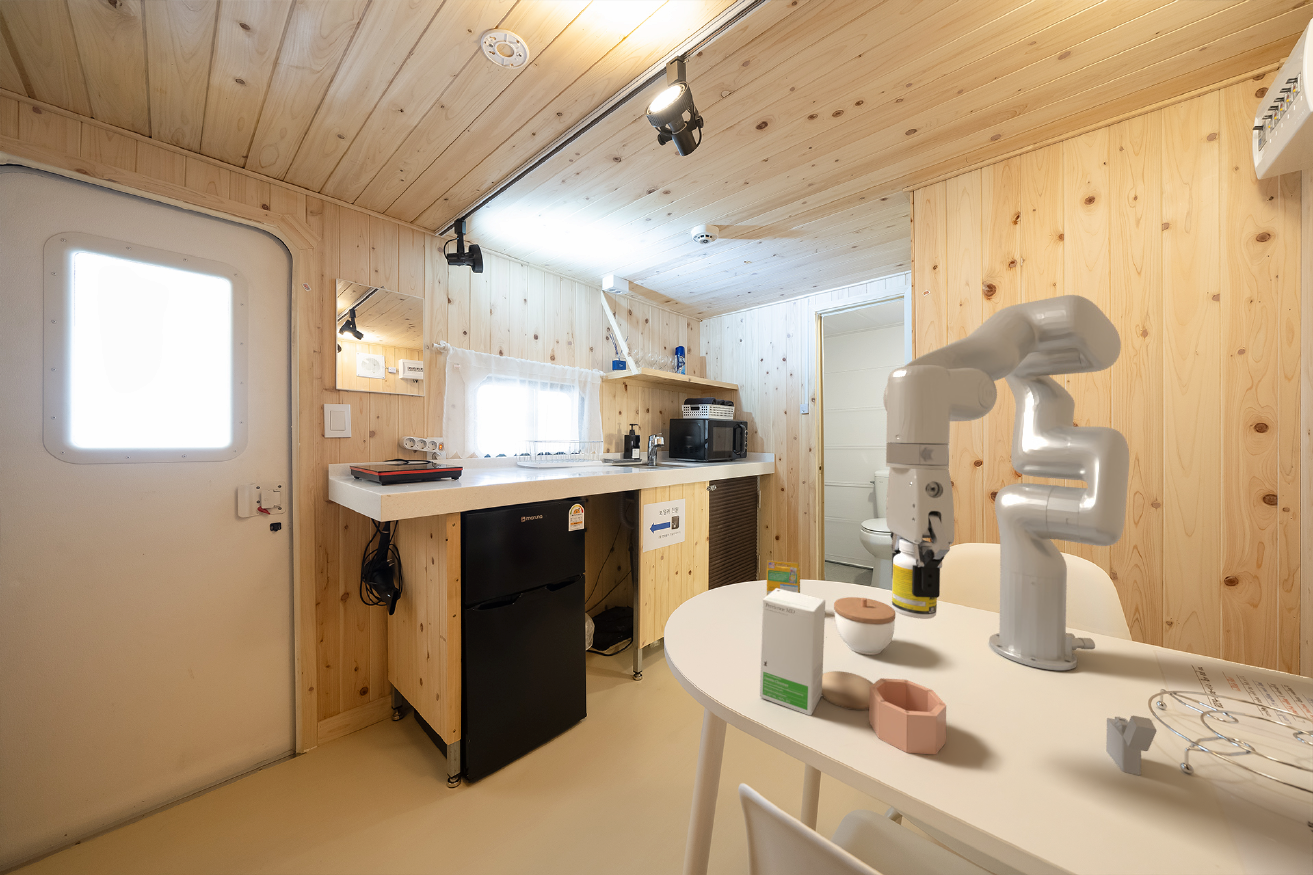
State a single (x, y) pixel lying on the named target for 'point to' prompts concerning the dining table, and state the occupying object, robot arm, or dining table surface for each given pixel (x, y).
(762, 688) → the skincare box
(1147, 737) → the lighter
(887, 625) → the lidded jar
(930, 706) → the terracotta octagonal planter pot
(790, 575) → the crayon box
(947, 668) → the dining table surface
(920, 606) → the supplement bottle
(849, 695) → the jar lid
